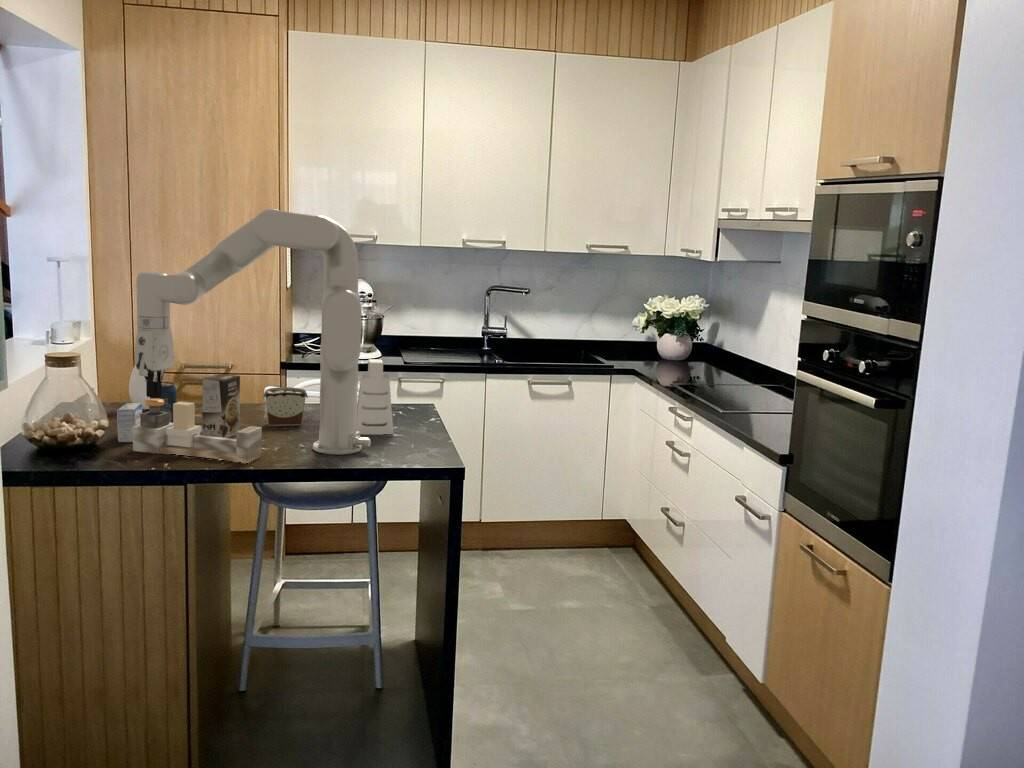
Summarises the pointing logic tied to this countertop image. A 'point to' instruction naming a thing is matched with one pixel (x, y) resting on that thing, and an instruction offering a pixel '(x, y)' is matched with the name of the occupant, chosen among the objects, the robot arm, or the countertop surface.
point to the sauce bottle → (138, 388)
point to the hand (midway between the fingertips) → (154, 396)
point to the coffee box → (221, 406)
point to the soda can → (168, 398)
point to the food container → (285, 405)
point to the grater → (374, 401)
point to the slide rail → (196, 441)
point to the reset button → (154, 405)
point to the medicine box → (128, 420)
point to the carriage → (183, 425)
